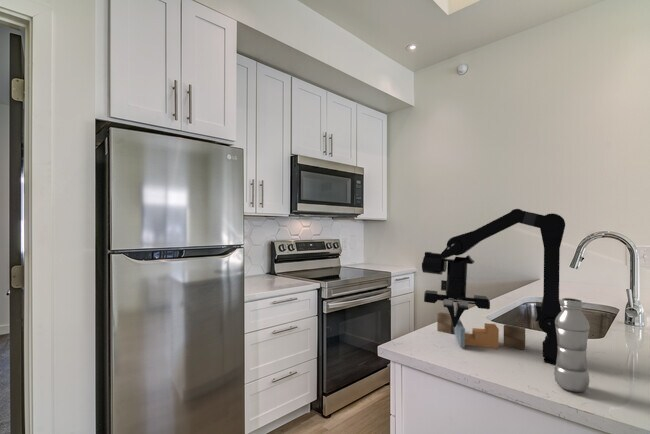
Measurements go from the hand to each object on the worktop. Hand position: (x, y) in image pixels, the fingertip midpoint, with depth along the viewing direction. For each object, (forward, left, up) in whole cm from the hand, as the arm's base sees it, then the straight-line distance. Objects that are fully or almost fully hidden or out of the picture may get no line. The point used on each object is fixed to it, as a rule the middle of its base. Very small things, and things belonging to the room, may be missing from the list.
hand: (454, 326), depth 107 cm
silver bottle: (-31, +12, -5) cm, 33 cm away
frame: (-4, -8, -5) cm, 10 cm away
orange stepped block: (-6, -4, -5) cm, 9 cm away
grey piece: (-1, -2, -4) cm, 5 cm away
